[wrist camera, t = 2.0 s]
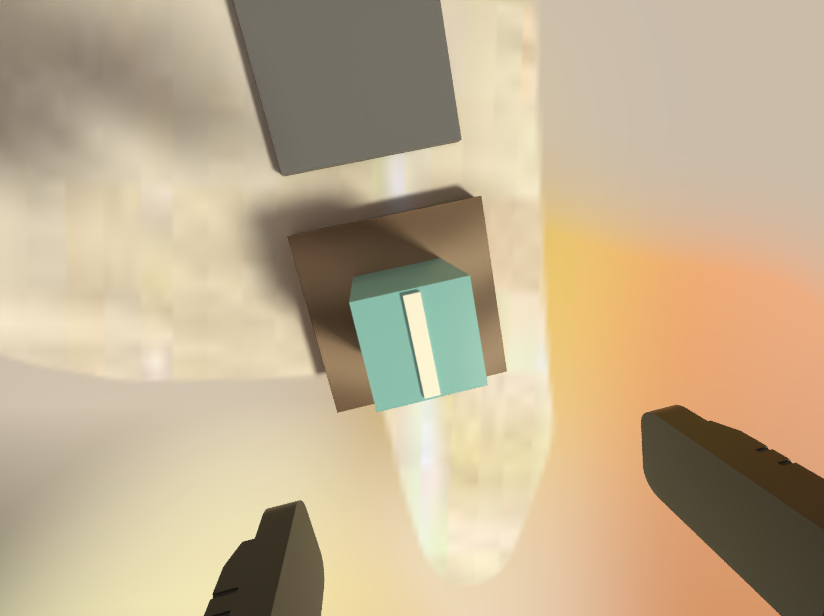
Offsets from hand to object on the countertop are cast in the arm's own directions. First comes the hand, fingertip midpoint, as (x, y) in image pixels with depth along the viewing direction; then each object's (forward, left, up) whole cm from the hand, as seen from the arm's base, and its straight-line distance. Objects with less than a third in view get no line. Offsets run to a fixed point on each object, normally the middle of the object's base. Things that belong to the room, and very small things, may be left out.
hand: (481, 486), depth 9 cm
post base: (0, 0, -18) cm, 18 cm away
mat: (-15, 0, -18) cm, 23 cm away
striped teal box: (0, 0, -17) cm, 17 cm away
